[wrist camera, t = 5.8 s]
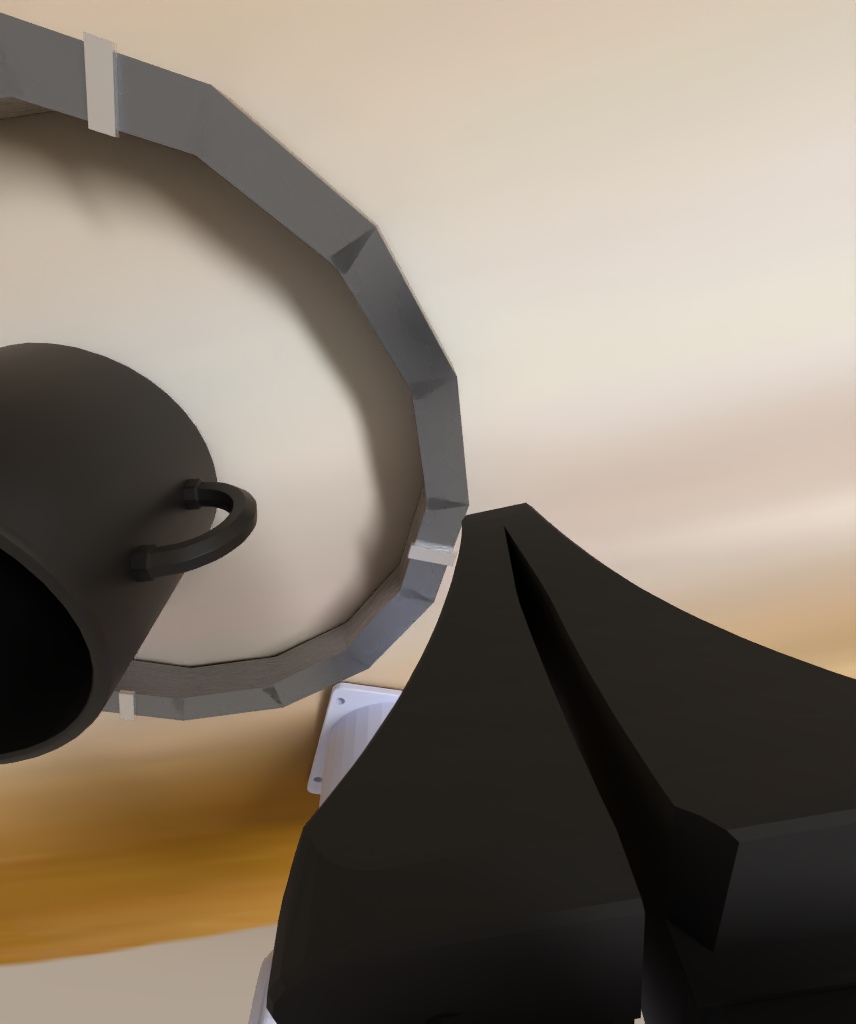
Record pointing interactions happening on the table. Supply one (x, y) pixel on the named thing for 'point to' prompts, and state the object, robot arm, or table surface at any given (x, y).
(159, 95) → the ring
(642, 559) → the table surface
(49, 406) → the mug
